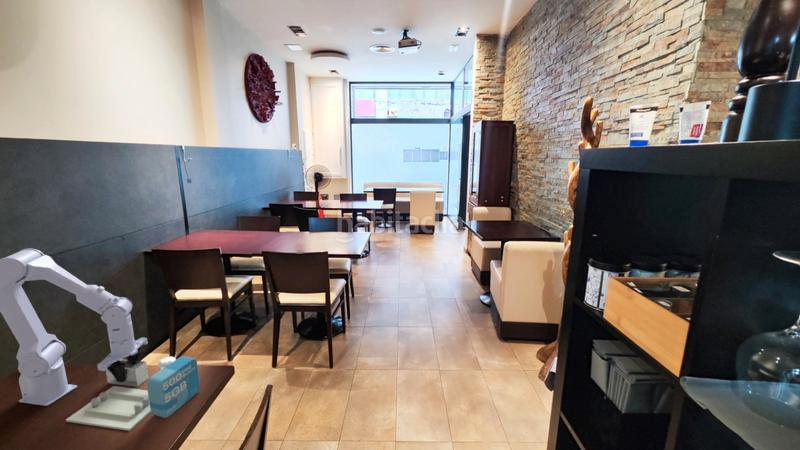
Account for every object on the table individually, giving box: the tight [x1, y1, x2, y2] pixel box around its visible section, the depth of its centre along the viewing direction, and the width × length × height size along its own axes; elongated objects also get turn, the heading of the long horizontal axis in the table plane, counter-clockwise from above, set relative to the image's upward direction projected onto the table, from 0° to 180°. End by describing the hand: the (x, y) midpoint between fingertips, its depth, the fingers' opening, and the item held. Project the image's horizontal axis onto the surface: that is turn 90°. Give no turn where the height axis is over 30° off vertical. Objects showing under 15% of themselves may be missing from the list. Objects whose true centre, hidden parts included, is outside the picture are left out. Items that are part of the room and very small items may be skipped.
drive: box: [105, 358, 150, 387], centre depth 102 cm, size 10×4×6 cm, turn 85°
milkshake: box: [157, 351, 178, 371], centre depth 101 cm, size 4×5×10 cm
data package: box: [146, 355, 201, 419], centre depth 93 cm, size 12×4×12 cm, turn 166°
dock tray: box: [65, 385, 151, 432], centre depth 91 cm, size 19×13×3 cm
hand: (127, 376), depth 102 cm, fingers closed on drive, 4 cm apart
